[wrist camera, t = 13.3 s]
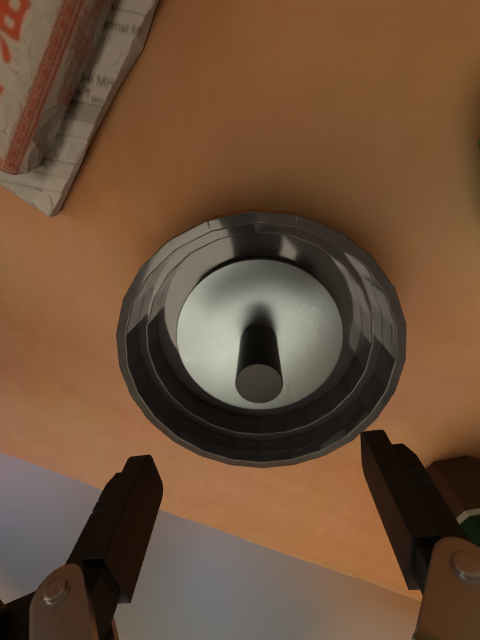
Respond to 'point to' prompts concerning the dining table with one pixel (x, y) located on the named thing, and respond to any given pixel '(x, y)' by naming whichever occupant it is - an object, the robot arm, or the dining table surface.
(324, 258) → the pan
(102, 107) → the packaged product
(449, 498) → the beer bottle
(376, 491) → the robot arm
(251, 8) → the dining table surface
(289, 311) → the lid
